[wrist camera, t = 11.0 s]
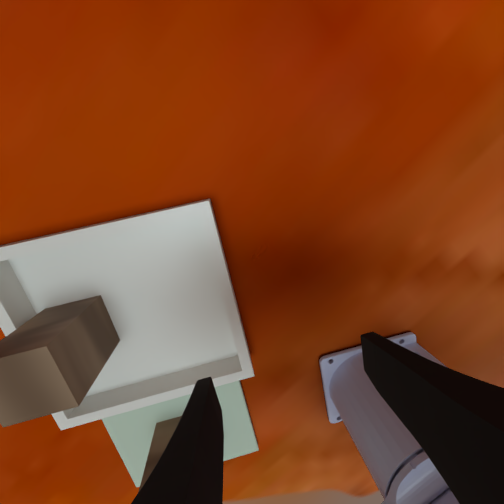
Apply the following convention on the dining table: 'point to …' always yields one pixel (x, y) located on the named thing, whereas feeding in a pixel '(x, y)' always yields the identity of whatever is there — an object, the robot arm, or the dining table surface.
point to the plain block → (54, 359)
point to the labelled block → (158, 445)
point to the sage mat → (144, 419)
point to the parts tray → (137, 303)
